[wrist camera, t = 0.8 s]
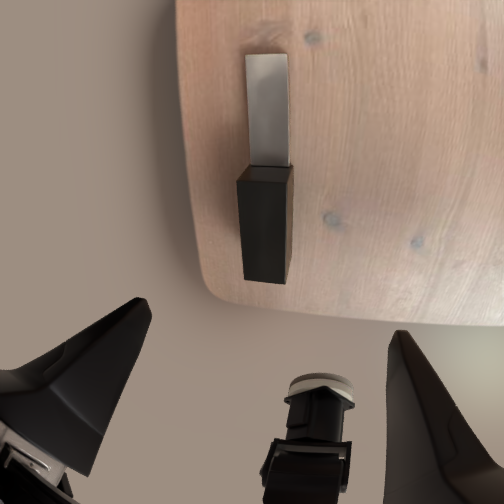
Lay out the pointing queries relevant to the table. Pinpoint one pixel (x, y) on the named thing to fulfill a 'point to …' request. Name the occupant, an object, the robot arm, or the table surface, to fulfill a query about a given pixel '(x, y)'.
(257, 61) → the knife
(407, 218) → the table surface
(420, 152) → the table surface
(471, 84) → the table surface
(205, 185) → the table surface
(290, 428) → the robot arm
